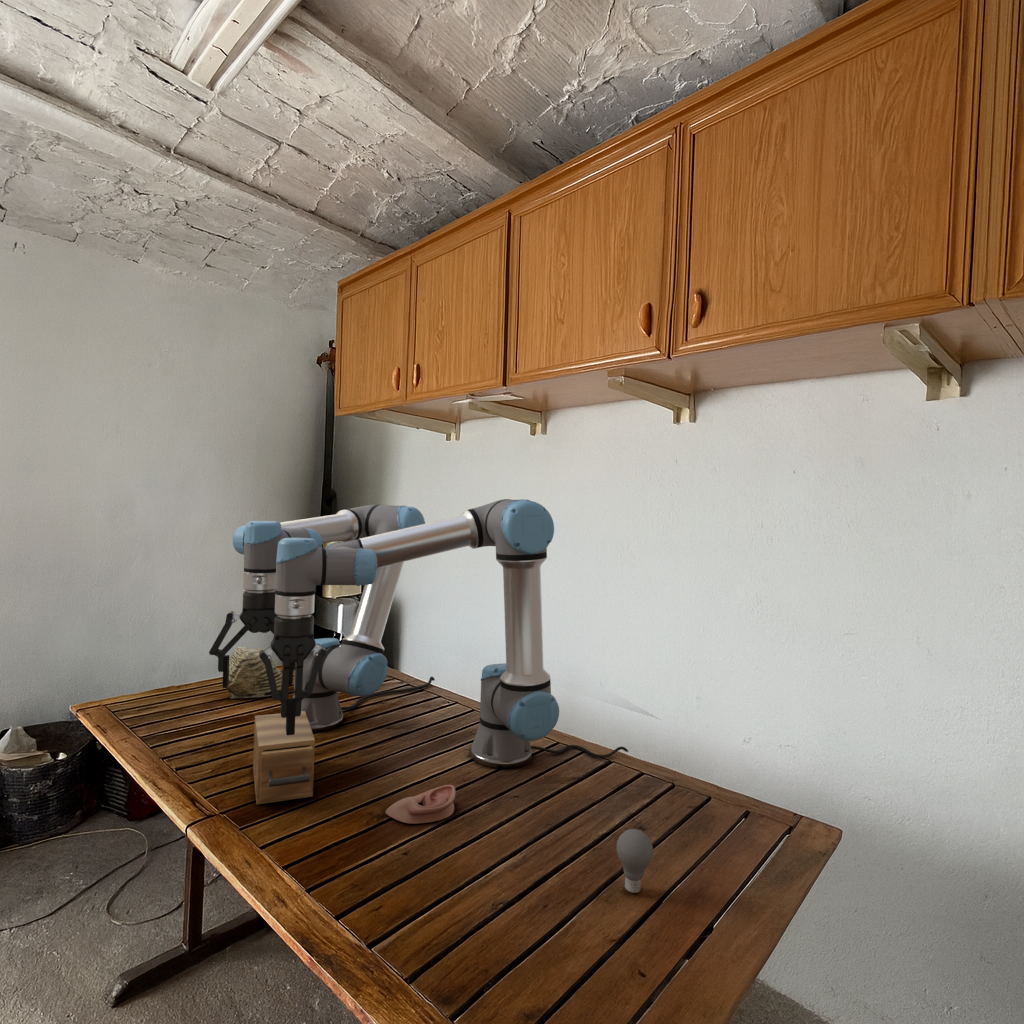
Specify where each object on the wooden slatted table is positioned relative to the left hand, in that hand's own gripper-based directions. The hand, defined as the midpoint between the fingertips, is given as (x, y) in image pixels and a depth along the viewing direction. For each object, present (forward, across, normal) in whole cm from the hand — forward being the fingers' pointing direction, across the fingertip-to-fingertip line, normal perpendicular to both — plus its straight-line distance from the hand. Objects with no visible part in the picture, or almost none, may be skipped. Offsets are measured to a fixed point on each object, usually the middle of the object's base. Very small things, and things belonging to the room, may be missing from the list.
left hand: (258, 685), depth 141 cm
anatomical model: (+21, +35, -21) cm, 46 cm away
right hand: (+5, +9, -17) cm, 20 cm away
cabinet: (+21, +6, -3) cm, 22 cm away
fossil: (+21, -9, +60) cm, 64 cm away
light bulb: (+21, +67, -54) cm, 88 cm away
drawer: (+20, +7, -9) cm, 22 cm away
